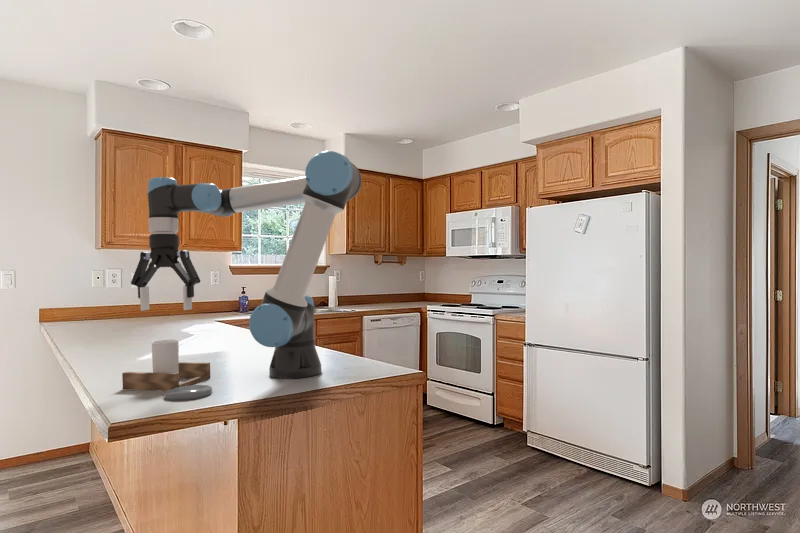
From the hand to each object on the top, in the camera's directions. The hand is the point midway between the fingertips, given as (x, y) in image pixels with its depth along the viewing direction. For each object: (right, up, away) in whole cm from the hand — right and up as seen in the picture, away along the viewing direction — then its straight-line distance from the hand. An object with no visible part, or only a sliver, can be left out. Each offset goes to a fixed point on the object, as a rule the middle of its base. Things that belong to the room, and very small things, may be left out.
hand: (166, 310), depth 142 cm
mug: (+1, -21, 0) cm, 21 cm away
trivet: (+12, -20, -14) cm, 27 cm away
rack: (+1, -21, 0) cm, 21 cm away
